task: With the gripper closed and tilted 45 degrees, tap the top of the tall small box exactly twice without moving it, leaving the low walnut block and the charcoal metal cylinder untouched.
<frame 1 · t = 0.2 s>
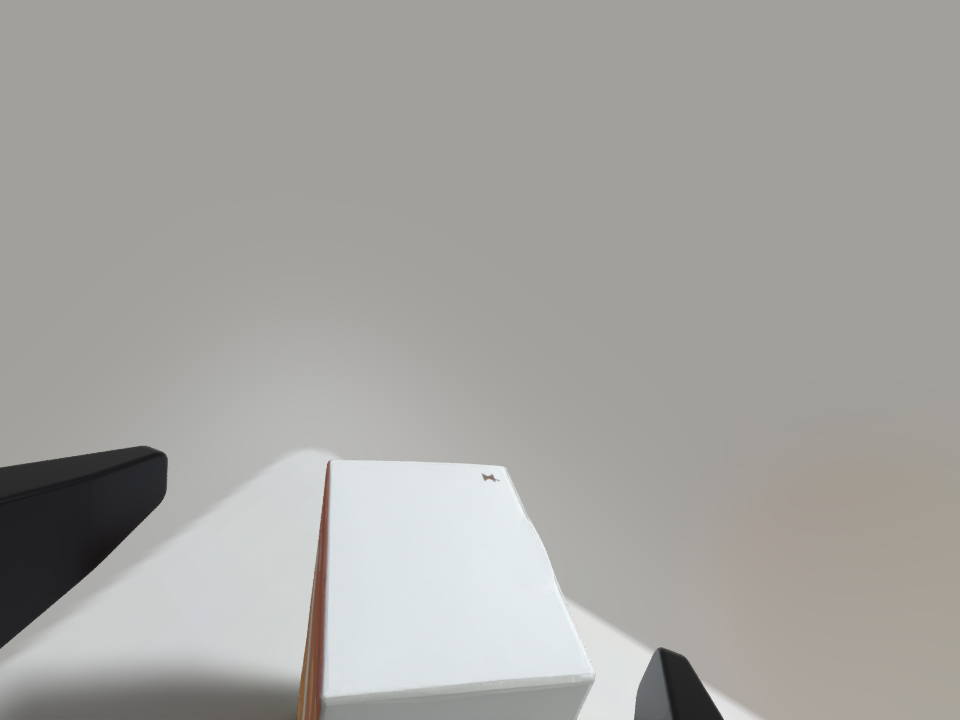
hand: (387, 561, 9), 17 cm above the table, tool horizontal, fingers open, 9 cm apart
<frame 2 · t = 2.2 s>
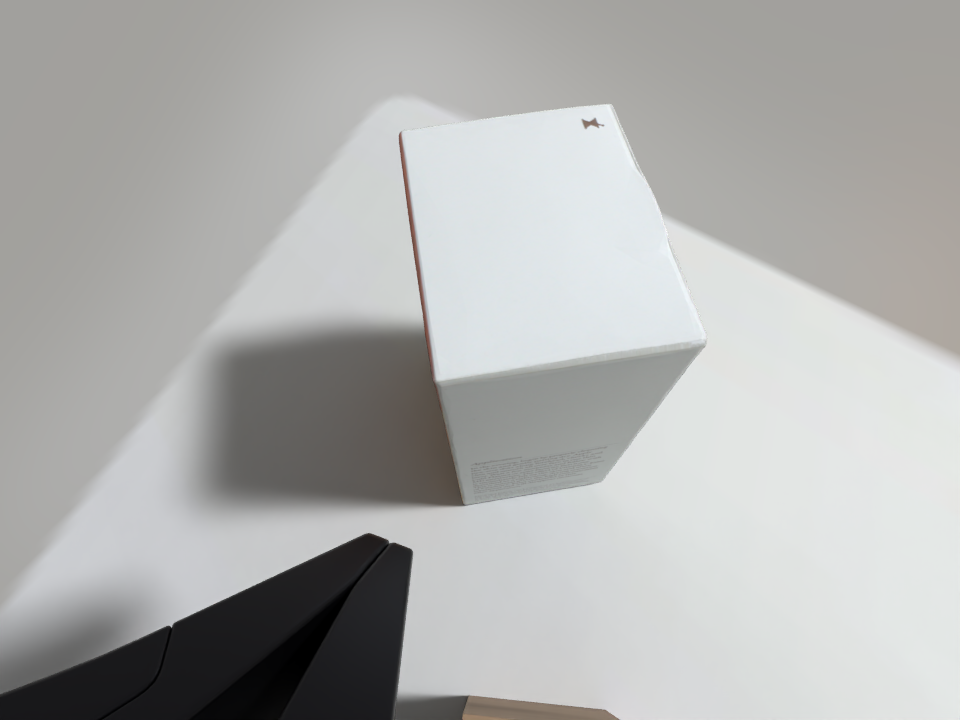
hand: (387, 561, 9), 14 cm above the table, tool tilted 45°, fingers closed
small box: (514, 413, 25), on the table
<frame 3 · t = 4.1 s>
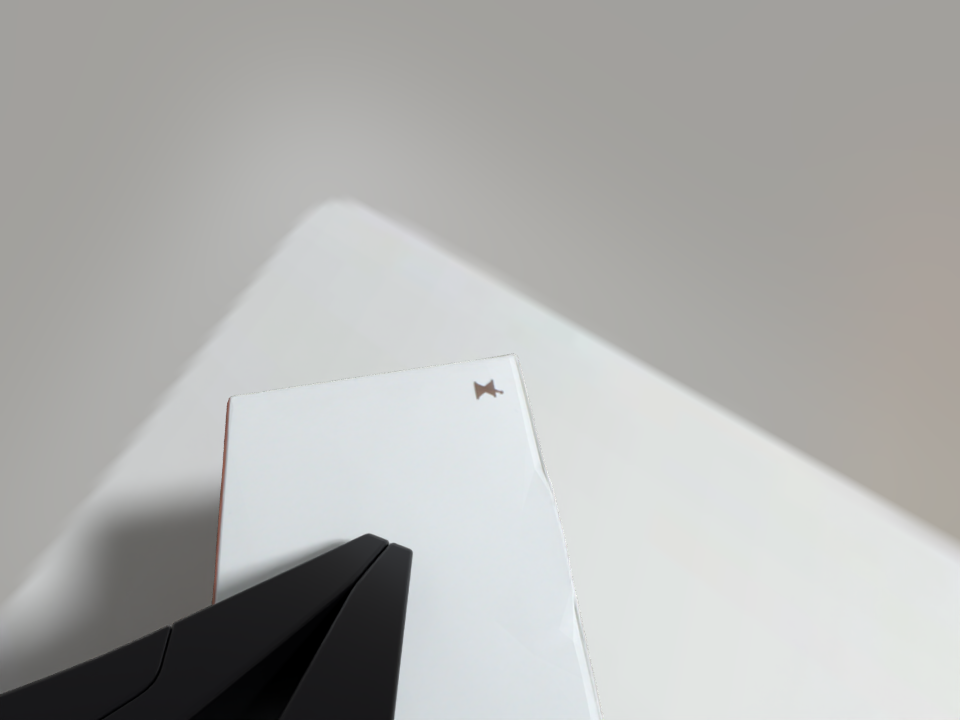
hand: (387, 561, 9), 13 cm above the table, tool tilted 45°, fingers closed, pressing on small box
small box: (440, 619, 21), on the table, touching gripper
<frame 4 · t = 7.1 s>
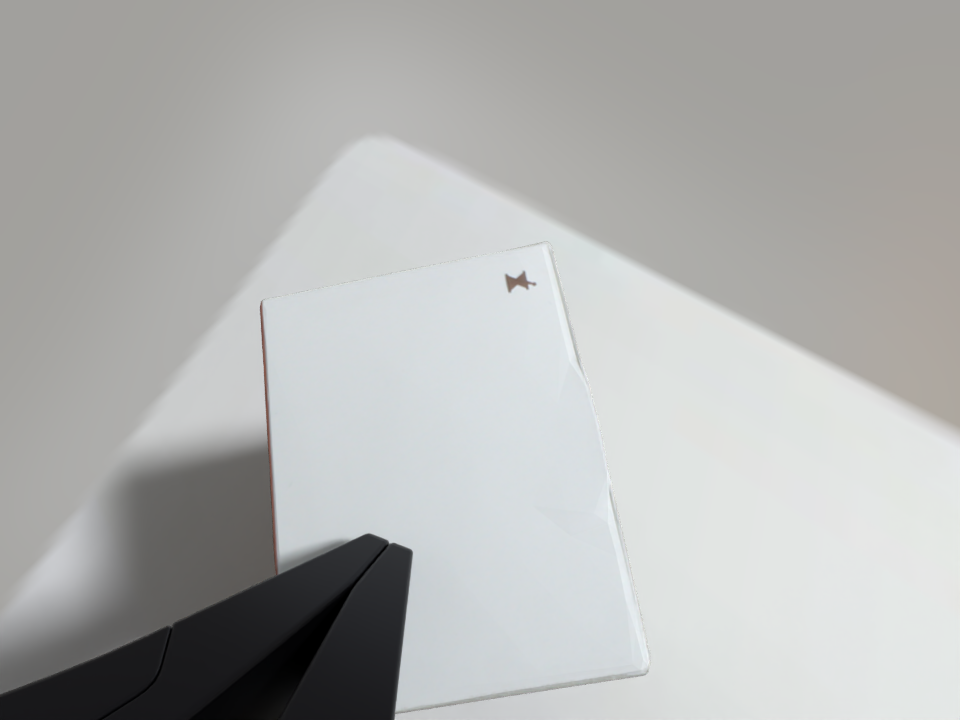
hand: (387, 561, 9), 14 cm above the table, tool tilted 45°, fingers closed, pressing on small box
small box: (484, 491, 22), point 1 cm above the table, touching gripper
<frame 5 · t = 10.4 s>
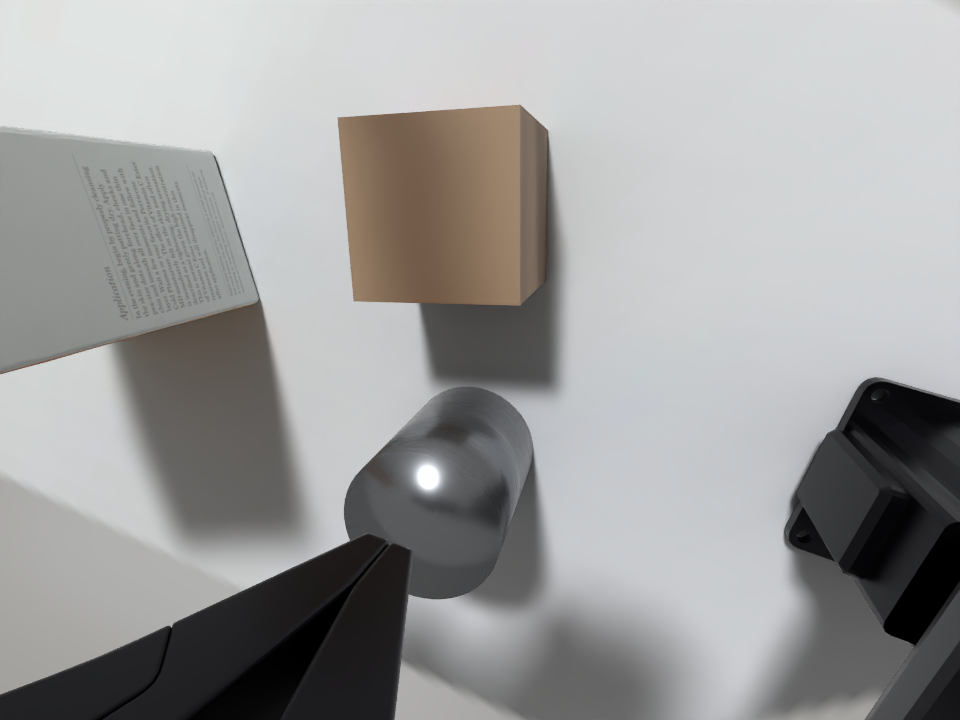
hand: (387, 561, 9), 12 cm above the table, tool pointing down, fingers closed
charcoal metal cylinder: (472, 445, 22), on the table
small box: (169, 248, 23), on the table
walnut block: (477, 209, 19), on the table
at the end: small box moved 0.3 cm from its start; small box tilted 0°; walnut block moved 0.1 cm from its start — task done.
